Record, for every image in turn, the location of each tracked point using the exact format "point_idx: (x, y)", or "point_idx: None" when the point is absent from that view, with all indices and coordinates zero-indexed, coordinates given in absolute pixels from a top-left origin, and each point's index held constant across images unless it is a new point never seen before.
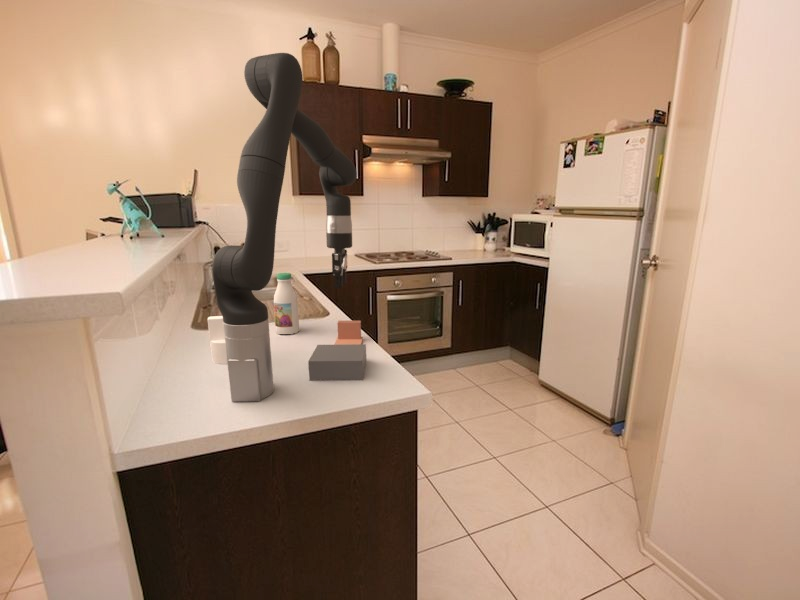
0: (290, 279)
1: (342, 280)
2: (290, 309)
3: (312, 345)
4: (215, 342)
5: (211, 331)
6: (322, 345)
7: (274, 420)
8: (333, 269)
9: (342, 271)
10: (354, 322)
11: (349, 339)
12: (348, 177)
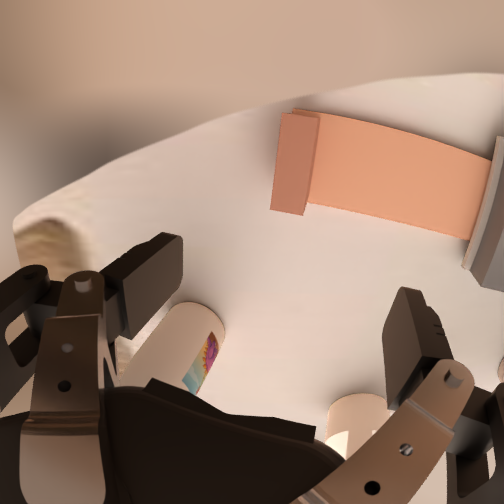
0: None
1: (170, 268)
2: (192, 368)
3: (327, 272)
4: None
5: None
6: (491, 273)
7: None
8: (486, 467)
9: (419, 386)
10: (311, 142)
11: (317, 157)
12: None
